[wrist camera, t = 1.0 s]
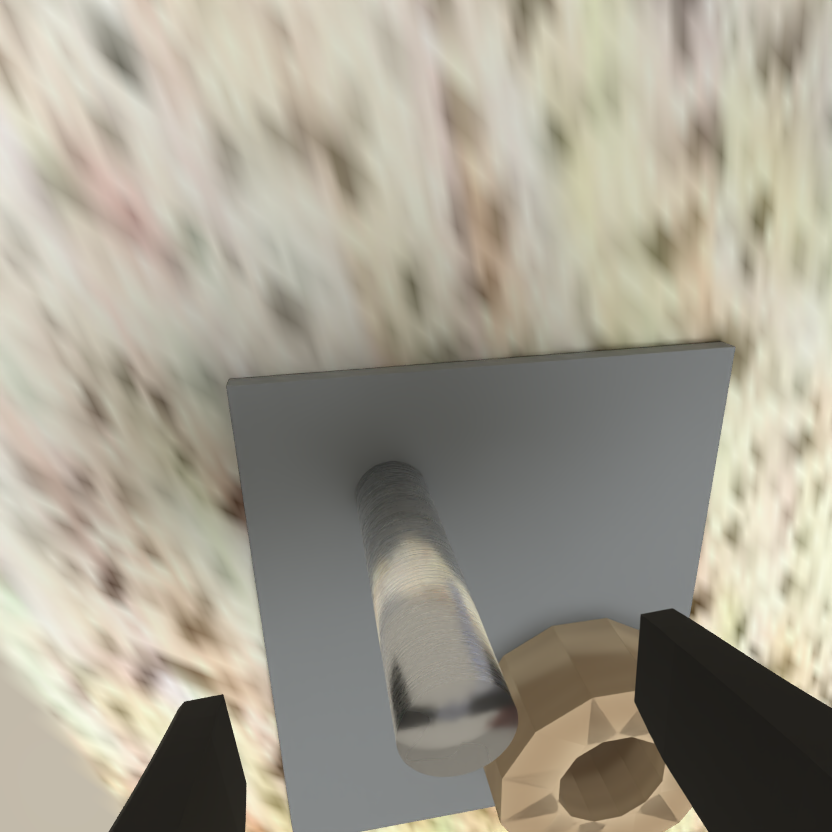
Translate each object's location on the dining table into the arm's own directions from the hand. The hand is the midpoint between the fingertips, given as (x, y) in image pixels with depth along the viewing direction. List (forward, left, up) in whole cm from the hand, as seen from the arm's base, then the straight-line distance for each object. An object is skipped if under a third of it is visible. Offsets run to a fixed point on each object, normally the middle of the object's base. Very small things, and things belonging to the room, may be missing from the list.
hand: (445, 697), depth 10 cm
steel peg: (0, 0, -7) cm, 7 cm away
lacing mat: (-3, +5, -8) cm, 10 cm away
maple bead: (-6, +9, -7) cm, 13 cm away
